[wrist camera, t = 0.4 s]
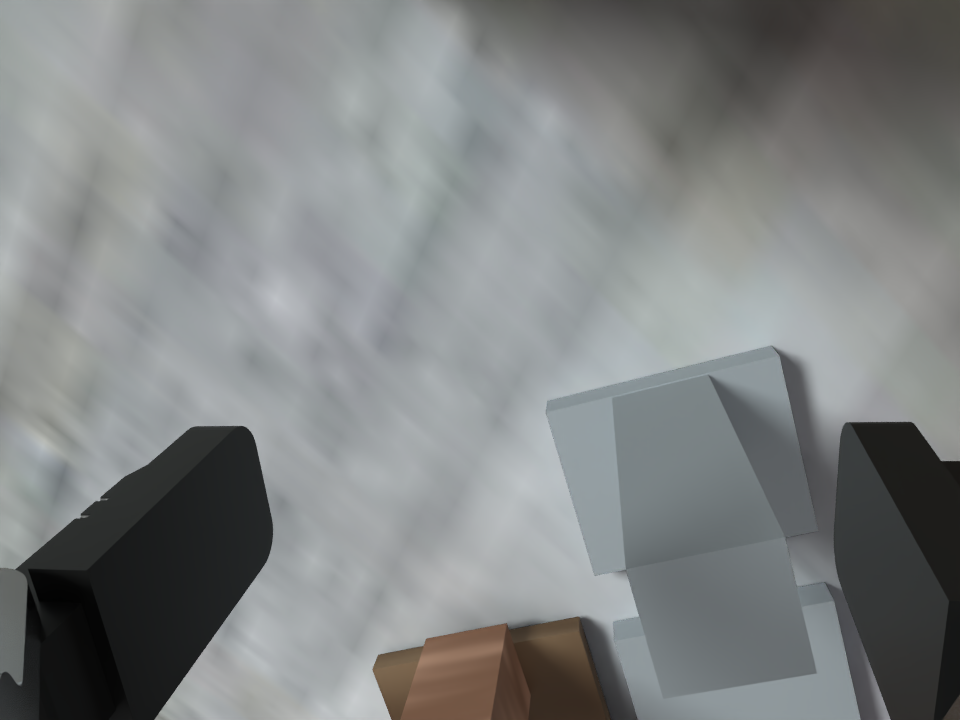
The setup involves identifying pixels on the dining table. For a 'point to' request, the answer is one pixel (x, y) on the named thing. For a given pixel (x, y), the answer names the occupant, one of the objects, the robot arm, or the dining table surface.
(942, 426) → the dining table surface
